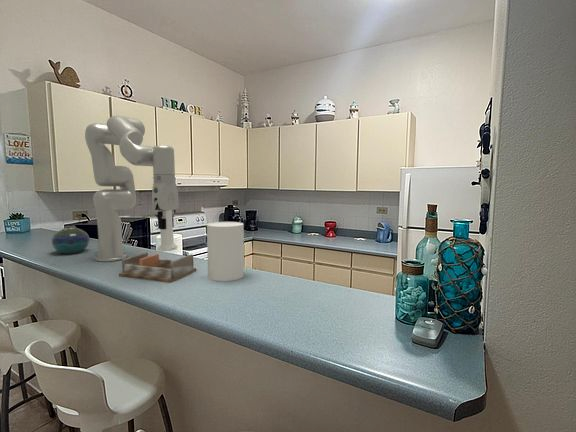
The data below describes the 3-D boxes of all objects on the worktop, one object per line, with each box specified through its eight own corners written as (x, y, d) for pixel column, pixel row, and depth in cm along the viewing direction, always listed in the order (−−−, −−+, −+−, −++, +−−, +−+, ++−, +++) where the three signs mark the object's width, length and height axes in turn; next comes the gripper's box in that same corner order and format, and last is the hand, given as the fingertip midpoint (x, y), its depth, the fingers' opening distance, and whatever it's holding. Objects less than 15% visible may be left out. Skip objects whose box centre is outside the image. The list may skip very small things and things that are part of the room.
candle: (180, 246, 125) (176, 182, 121) (172, 251, 118) (168, 183, 114) (163, 246, 125) (159, 182, 121) (154, 250, 118) (149, 183, 114)
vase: (93, 252, 156) (91, 226, 155) (55, 257, 146) (53, 229, 144) (86, 247, 167) (84, 222, 166) (50, 252, 157) (48, 225, 155)
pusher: (139, 272, 120) (139, 259, 120) (156, 265, 129) (156, 253, 129) (142, 272, 120) (141, 259, 119) (159, 266, 129) (158, 254, 128)
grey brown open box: (118, 276, 119) (118, 258, 118) (149, 265, 134) (148, 249, 134) (170, 282, 112) (169, 263, 112) (196, 270, 128) (195, 253, 127)
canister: (236, 282, 114) (235, 227, 111) (201, 279, 116) (200, 225, 114) (248, 271, 127) (248, 222, 124) (217, 269, 129) (216, 221, 127)
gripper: (157, 179, 109) (159, 232, 111) (186, 179, 125) (187, 225, 127) (139, 179, 111) (142, 230, 113) (170, 179, 127) (171, 224, 129)
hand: (166, 227), depth 120 cm, fingers closed on candle, 3 cm apart
